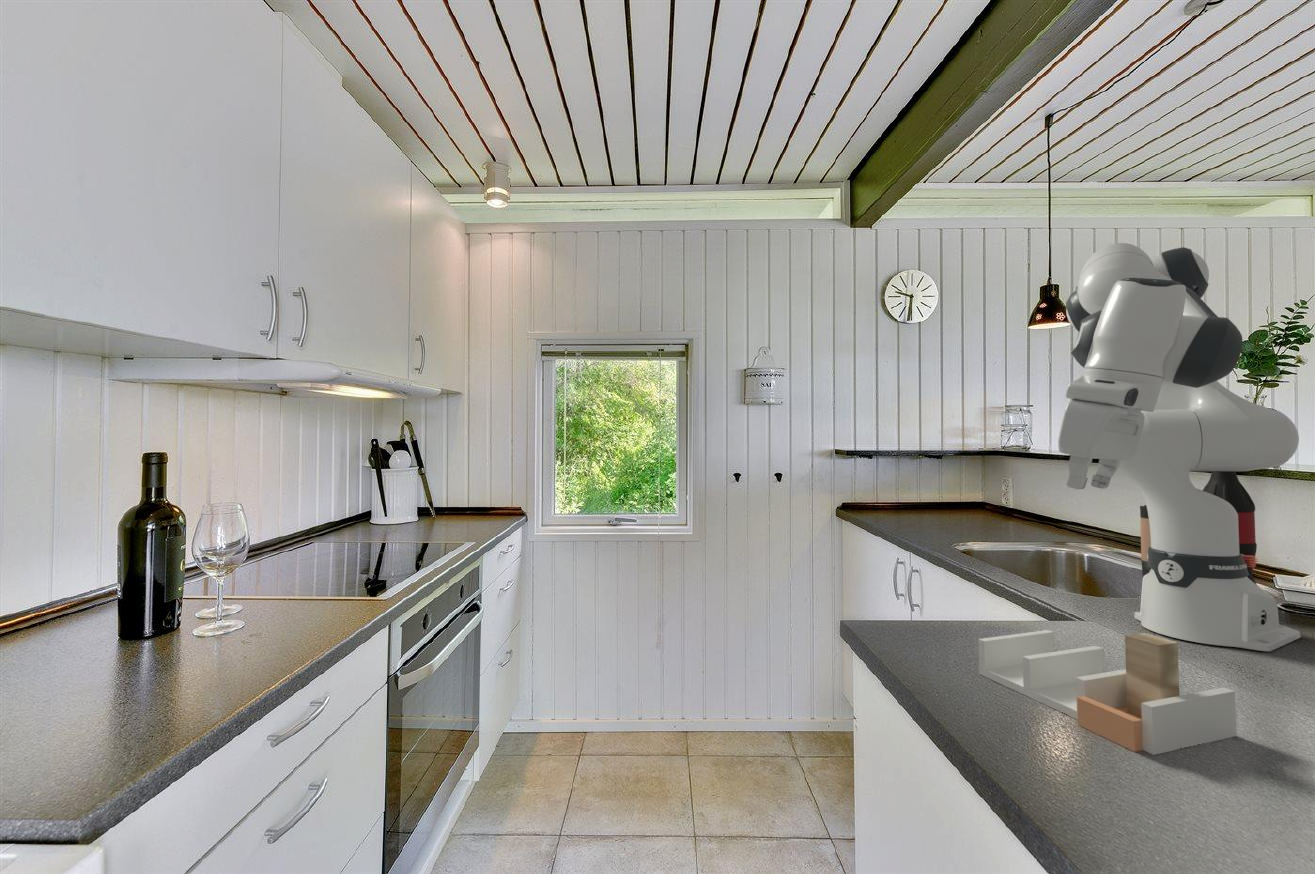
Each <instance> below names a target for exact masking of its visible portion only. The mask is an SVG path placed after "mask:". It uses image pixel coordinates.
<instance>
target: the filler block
mask: <svg viewBox="0 0 1315 874" xmlns="http://www.w3.org/2000/svg"><path fill="white" fill-rule="evenodd" d="M1178 644H1179V643H1178V642H1177V641H1174V640H1170V639H1167V638H1164V637H1159V636H1155V635H1152V634H1148V633H1146V632H1139V633H1133V634H1132V633H1131V634H1125V635H1124V645H1125V646H1124V649H1125V651H1124V653H1125V669H1126V684H1127V712H1129V713H1131V714H1133V715H1136V716H1138V717H1141V718H1142V710H1141V703H1144V702H1149V701H1154V700H1160V699H1165V698H1170V697H1176V696H1180V674H1179V673H1180V671H1179V648H1178V647H1179V646H1178Z"/></svg>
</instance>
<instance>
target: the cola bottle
mask: <svg viewBox="0 0 1315 874" xmlns="http://www.w3.org/2000/svg"><path fill="white" fill-rule="evenodd" d="M1201 490H1202V491H1205V492H1208V493H1210V494H1213V495H1215V496H1218V497H1220V498H1222V499H1224V500H1226V501H1227V502H1229V503H1230V504H1231V505H1232V506H1233V507H1234V509H1235V510H1236V512H1237V514H1238V530H1239V554H1243V555H1252V556H1255V557H1256V554H1257V547H1258V544H1257V541H1256V518H1255V514H1256V513H1255V512H1256V505H1255V502H1254V501H1253V499H1252V497H1251V495H1250V494H1249V492H1248V491H1247V490H1246V488H1245V487H1244V486H1243V485H1242V483H1241V481H1240V480H1239V478H1238V475H1237V471H1211V473H1210V477H1209V479H1208V481H1207V483H1206V485H1205V486H1204V488H1203V489H1201ZM1253 569H1254V568H1253V567H1248V566H1247V570H1248V573H1249V576H1247V577H1248V578H1249V579H1250V580H1251V581H1252V582H1254V583H1255V584H1256V585H1257V583H1256V581H1255V578H1254V575H1253V572H1254V571H1253ZM1257 586H1258V585H1257Z"/></svg>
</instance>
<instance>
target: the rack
mask: <svg viewBox="0 0 1315 874" xmlns="http://www.w3.org/2000/svg"><path fill="white" fill-rule="evenodd" d="M977 642H978V643H977V644H978V672H979V675H981V676H983V677H985V678H987V679H989V680H991V681H994V682H995V683H998V684H999V685H1002V686H1004V687H1007V688H1009V689H1010V690H1013V691H1015V692H1016V693H1019V694H1022V695H1024V696H1025V697H1028V698H1030V699H1032V700H1034V701H1037V702H1039V703H1041V704H1043V705H1045V706H1047V707H1049V708H1052V709H1053V710H1056V711H1058V712H1059V713H1060V712H1061V713H1062V712H1063V713H1062V714H1064V713H1065V714H1064V715H1066V714H1067V715H1066V716H1069V717H1071V718H1074V719H1076V720H1077V726H1078V727H1079V726H1080V727H1082V728H1084V729H1086V730H1088V731H1090V732H1092V733H1094V734H1096V735H1099V736H1101V737H1102V738H1105V739H1107V740H1109V741H1111V742H1112V743H1115V744H1117V745H1119V746H1121V747H1123V748H1125V749H1128V750H1130V751H1132V752H1134V753H1136V752H1141V751H1144V752H1146V753H1148V754H1150V755H1153V756H1156V755H1160V754H1163V753H1168V752H1172V751H1173V752H1174V751H1176V750H1177V749H1178V750H1181V749H1180V748H1182V749H1185V748H1184V747H1187V748H1189V747H1188V746H1191V747H1193V746H1192V745H1195V746H1197V745H1196V744H1200V743H1204V744H1209V743H1213V742H1216V741H1222V740H1226V739H1230V738H1234V737H1237V736H1238V735H1237V717H1236V715H1237V714H1236V712H1237V711H1236V691H1235V690H1232V689H1230V688H1227V687H1218V688H1214V689H1213V688H1212V689H1209V690H1208V689H1207V690H1203V691H1198V692H1197V691H1196V692H1193V693H1187V694H1182V695H1179V696H1176V697H1170V698H1165V699H1160V700H1154V701H1149V702H1144V703H1141V710H1142V718H1141V717H1138V716H1136V715H1133V714H1131V713H1129V712H1127V684H1126V668H1123V669H1117V670H1112V671H1106V672H1105V660H1104V659H1105V658H1104V656H1105V655H1104V648H1103V647H1101V646H1098V645H1092V646H1084V647H1077V648H1071V649H1064V650H1057V651H1055V632H1054V631H1052V630H1048V629H1046V630H1045V629H1043V630H1037V631H1031V632H1021V633H1015V634H1014V633H1013V634H1007V635H999V636H991V637H985V638H984V637H983V638H978V641H977ZM1200 745H1201V744H1200ZM1178 750H1177V751H1178Z"/></svg>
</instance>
